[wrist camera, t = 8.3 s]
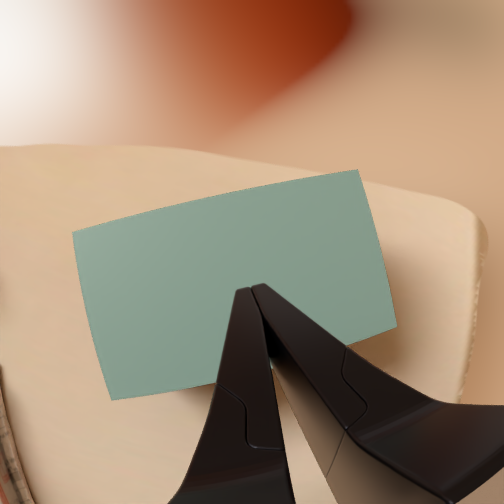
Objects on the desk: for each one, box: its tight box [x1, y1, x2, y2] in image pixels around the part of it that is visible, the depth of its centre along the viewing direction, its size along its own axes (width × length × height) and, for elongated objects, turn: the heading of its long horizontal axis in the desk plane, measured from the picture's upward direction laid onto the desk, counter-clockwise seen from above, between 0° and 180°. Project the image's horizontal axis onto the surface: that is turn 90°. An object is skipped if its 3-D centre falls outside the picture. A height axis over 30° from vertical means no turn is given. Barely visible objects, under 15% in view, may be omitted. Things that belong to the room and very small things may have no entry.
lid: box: [72, 170, 397, 400], centre depth 14 cm, size 8×14×1 cm, turn 104°
